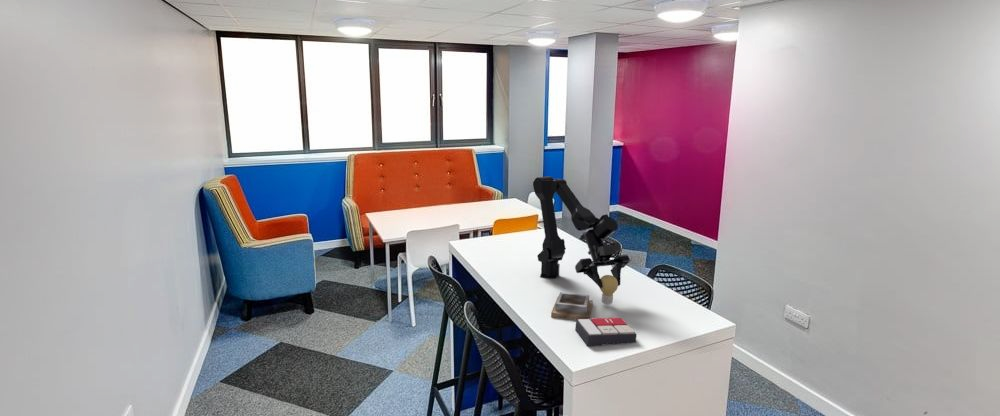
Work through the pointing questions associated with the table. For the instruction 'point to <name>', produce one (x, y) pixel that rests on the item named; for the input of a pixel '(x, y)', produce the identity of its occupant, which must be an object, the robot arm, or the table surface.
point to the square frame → (572, 306)
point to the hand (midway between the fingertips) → (610, 286)
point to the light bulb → (608, 288)
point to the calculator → (604, 331)
